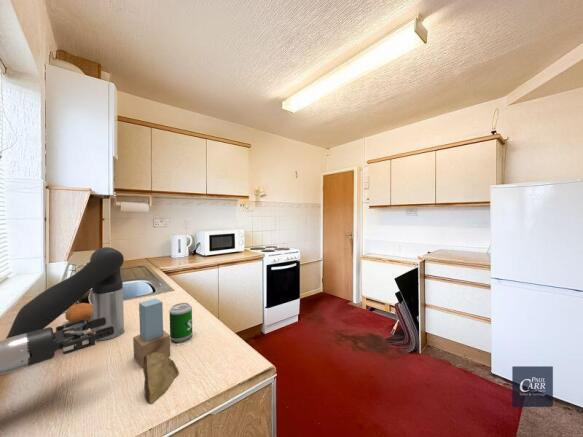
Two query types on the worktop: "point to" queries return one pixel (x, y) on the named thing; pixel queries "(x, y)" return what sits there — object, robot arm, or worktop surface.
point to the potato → (79, 312)
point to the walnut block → (150, 347)
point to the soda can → (180, 322)
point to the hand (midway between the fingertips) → (109, 325)
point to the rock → (157, 375)
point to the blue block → (151, 319)
